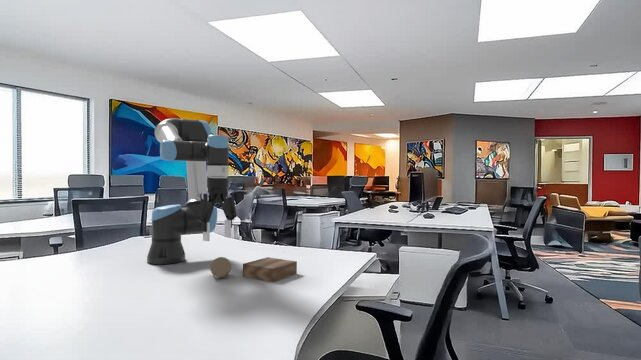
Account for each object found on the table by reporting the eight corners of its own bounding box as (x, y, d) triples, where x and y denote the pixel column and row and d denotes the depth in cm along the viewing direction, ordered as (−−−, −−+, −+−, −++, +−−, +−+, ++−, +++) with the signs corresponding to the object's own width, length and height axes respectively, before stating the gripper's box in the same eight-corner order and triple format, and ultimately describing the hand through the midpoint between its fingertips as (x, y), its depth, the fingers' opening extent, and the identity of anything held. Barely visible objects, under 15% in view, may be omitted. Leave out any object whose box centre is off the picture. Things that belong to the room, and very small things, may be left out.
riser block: (242, 277, 142) (242, 263, 142) (267, 269, 153) (267, 257, 153) (272, 283, 134) (273, 268, 134) (296, 274, 146) (296, 261, 146)
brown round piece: (233, 271, 148) (239, 252, 142) (222, 289, 139) (228, 271, 134) (215, 263, 148) (220, 244, 142) (203, 281, 139) (208, 262, 134)
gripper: (199, 177, 131) (198, 244, 132) (247, 177, 149) (246, 236, 150) (185, 177, 135) (185, 241, 136) (233, 177, 153) (232, 234, 154)
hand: (217, 238), depth 143 cm, fingers open, 9 cm apart
